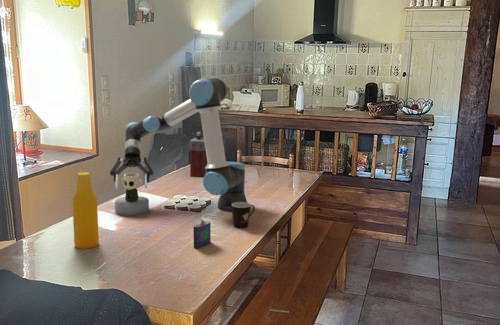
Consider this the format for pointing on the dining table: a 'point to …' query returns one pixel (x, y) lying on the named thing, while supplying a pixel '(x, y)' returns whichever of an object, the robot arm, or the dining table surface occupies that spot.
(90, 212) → the beer bottle
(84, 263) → the dining table surface
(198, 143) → the glass decanter
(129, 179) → the character mug
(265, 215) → the dining table surface
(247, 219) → the coffee mug
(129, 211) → the plinth
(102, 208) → the dining table surface
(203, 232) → the flask
